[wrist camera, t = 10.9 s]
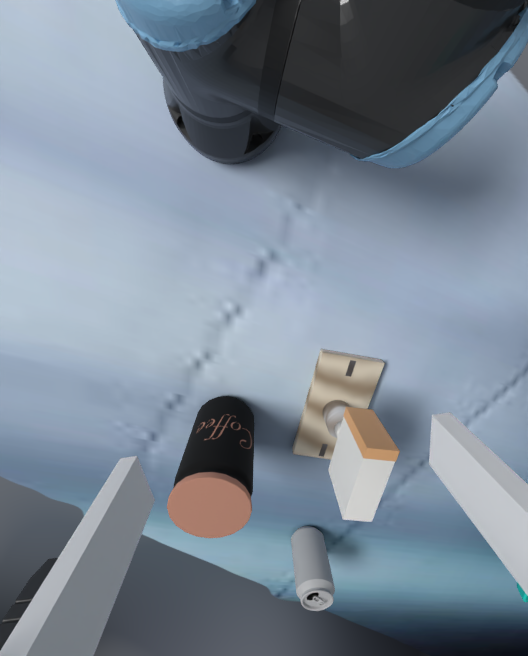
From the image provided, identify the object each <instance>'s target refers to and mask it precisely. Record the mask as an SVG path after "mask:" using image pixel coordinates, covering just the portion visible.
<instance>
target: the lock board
mask: <svg viewBox="0 0 528 656" xmlns="http://www.w3.org/2000/svg"><path fill="white" fill-rule="evenodd" d="M384 364H385V363H384V362H383V361H382V360H381V359H376V358H370V357H364V356H358V355H353V354H347V353H341V352H336V351H330V350H324V349H321V350H320V354H319V357H318V361H317V364H316V368H315V371H314V375H313V378H312V382H311V385H310V389H309V392H308V395H307V399H306V402H305V406H304V409H303V413H302V416H301V420H300V423H299V427H298V430H297V434H296V437H295V441H294V444H293V448H292V450H293V454H296V455H303V456H310V457H317V458H324V459H332V455H333V452H334V448H335V445H336V441H337V436H336V433H335V430H334V426H335V424H336V423H337V422H339V421H342V420H343V417H344V416H343V415H344V412H345V408H346V407H353V408H362V409H368V406H369V403H370V401H371V398H372V396H373V393H374V390H375V388H376V385H377V382H378V380H379V377H380V374H381V372H382V369H383V367H384Z"/></svg>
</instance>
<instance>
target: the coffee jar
mask: <svg viewBox="0 0 528 656" xmlns="http://www.w3.org/2000/svg"><path fill="white" fill-rule="evenodd" d="M253 457H254V416H253V414H252V412H251V410H250V408H249V407H248V406H247V405H246V404H245V403H244V402H242V401H241V400H239V399H237V398H234V397H229V396H223V397H217V398H214V399H211V400H209V401H208V402H207V403H205V404H204V405H203V406H202V407H201V409H200V410H199V412H198V414H197V417H196V420H195V423H194V426H193V429H192V432H191V434H190V437H189V440H188V443H187V446H186V449H185V452H184V455H183V457H182V460H181V463H180V466H179V469H178V472H177V475H176V477H175V482H174V488H173V490H172V491H171V493H170V496H169V499H168V505H167V509H168V512H169V516H170V518H171V519H172V521H173V522H174V523H175V525H176V526H178V527H179V528H180V529H182V530H183V531H185V532H187V533H189V534H192V535H194V536H198V537H205V538H218V537H224V536H227V535H231V534H233V533H235V532H237V531H238V530H240V529H241V528H243V527H244V525H245V524H246V523H247V522H248V521H249V518H250V515H251V512H252V504H251V495H252V492H253Z"/></svg>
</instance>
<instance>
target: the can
mask: <svg viewBox="0 0 528 656" xmlns="http://www.w3.org/2000/svg"><path fill="white" fill-rule="evenodd" d="M291 544H292V554H293V563H294V573H295V583H296V592H297V596H298V597H299V598H300V599H301V604H302V606H303V607H304V608H306V609H308V610H312V611H319V610H324V609H326V608H328V607H330V606H331V604H332V603H333V594H334V591H335V588H334V583H333V578H332V574H331V569H330V564H329V560H328V555H327V550H326V546H325V541H324V536H323V534H322V532H320V531H319V530H318V529H316V528H315V527H312V526H304V527H301V528H299V529H297V530H296V531H295V533H294V534H293V535H292V537H291Z"/></svg>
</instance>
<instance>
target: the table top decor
mask: <svg viewBox="0 0 528 656" xmlns="http://www.w3.org/2000/svg"><path fill="white" fill-rule="evenodd" d="M517 588H518V590H519V592H520V595H521V597H522V599H523V601H524V602H528V596H527V594H526V593H525V592H524V590H523V589H522V588H521V586H520V585H519V584H518V582H517Z"/></svg>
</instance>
